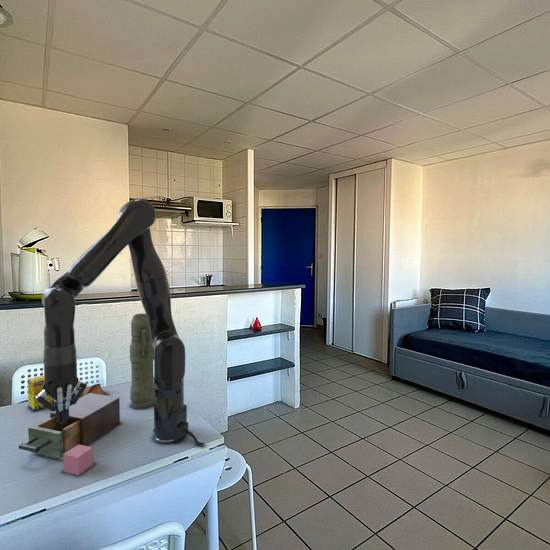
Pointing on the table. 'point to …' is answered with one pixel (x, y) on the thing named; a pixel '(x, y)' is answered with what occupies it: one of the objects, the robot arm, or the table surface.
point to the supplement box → (36, 392)
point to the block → (78, 459)
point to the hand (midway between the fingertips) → (62, 422)
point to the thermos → (141, 363)
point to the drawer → (53, 437)
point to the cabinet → (94, 415)
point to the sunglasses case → (90, 391)
